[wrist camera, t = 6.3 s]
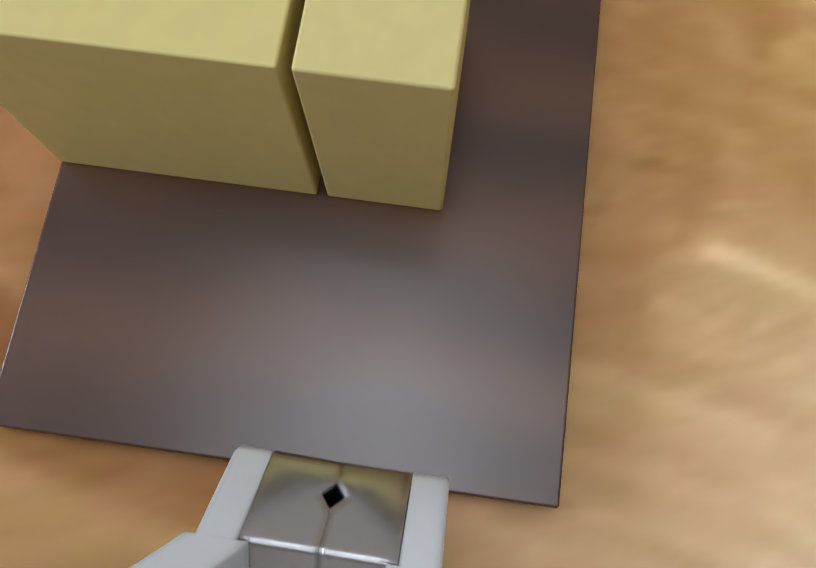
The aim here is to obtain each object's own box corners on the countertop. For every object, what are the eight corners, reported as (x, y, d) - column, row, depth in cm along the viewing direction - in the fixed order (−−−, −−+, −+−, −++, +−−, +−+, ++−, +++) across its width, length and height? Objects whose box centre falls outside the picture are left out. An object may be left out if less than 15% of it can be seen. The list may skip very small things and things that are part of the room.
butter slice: (441, 212, 22) (455, 89, 15) (327, 196, 22) (289, 69, 15) (465, 38, 24) (487, -142, 17) (358, 25, 24) (337, -158, 17)
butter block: (317, 195, 22) (275, 67, 15) (60, 162, 22) (-90, 22, 16) (349, 24, 24) (324, -160, 17) (109, -5, 24) (-9, -196, 17)
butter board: (552, 507, 21) (559, 508, 20) (3, 427, 21) (-16, 423, 20) (605, -123, 26) (613, -147, 25) (173, -171, 27) (164, -195, 26)
